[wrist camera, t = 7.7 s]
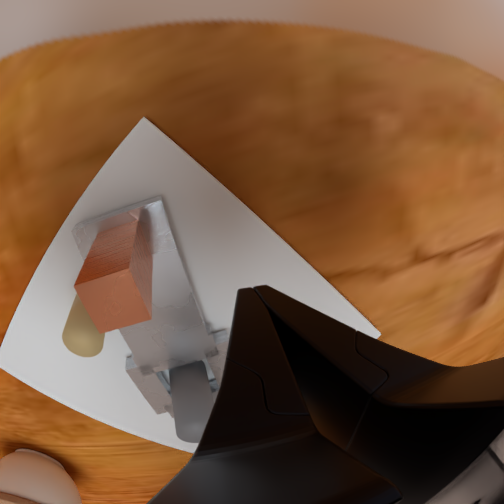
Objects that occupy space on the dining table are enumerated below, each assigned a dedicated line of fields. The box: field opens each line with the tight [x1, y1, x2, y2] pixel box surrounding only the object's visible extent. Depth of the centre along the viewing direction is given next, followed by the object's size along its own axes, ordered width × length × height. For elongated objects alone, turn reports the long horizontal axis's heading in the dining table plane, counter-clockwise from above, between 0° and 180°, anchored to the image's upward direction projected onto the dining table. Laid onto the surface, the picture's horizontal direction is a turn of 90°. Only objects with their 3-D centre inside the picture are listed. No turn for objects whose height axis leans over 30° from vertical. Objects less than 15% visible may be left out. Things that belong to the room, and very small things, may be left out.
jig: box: [0, 117, 381, 453], centre depth 17 cm, size 19×22×6 cm
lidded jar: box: [0, 448, 82, 504], centre depth 17 cm, size 11×11×9 cm
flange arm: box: [71, 195, 229, 418], centre depth 14 cm, size 14×6×6 cm, turn 11°
